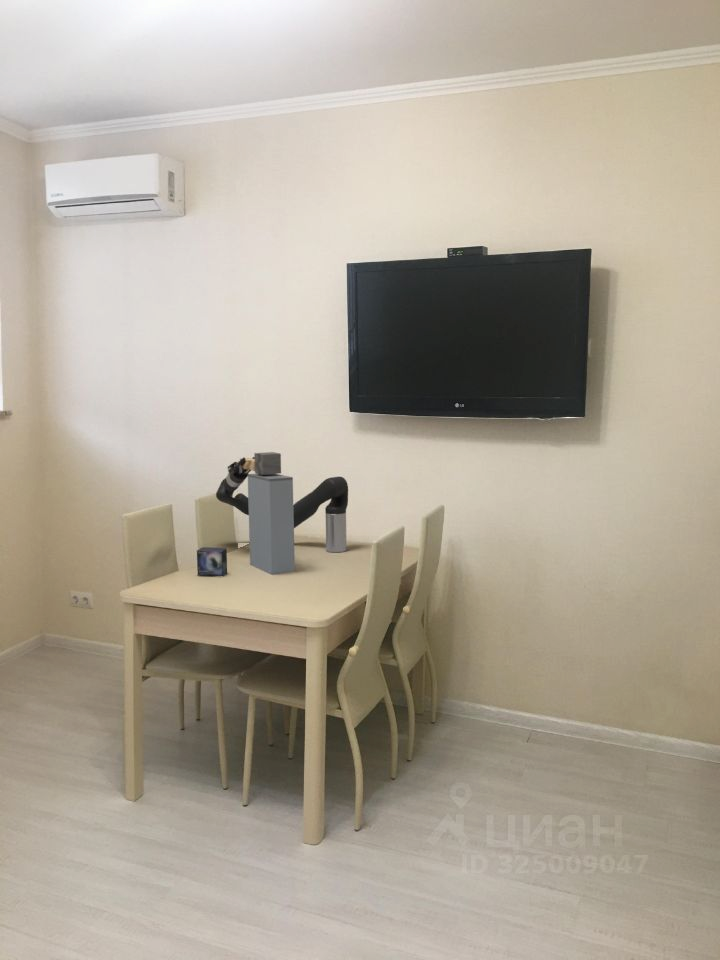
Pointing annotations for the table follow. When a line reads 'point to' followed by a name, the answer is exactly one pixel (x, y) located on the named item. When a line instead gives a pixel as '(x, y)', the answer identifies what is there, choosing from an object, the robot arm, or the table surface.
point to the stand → (271, 523)
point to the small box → (212, 561)
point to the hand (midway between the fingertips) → (249, 459)
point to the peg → (264, 463)
